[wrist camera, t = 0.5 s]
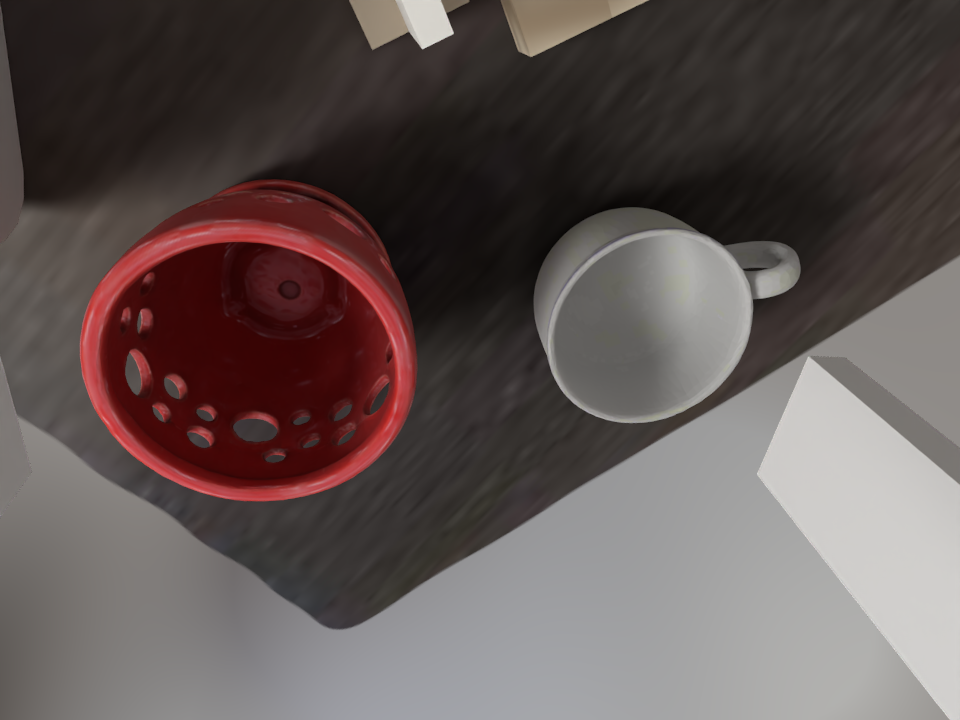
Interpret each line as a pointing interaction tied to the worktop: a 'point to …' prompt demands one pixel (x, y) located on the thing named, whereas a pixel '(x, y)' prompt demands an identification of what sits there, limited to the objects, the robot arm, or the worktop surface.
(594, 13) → the button board
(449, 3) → the pattern card
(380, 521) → the worktop surface
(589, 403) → the teacup
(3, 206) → the rounded white slab
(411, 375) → the plant pot
